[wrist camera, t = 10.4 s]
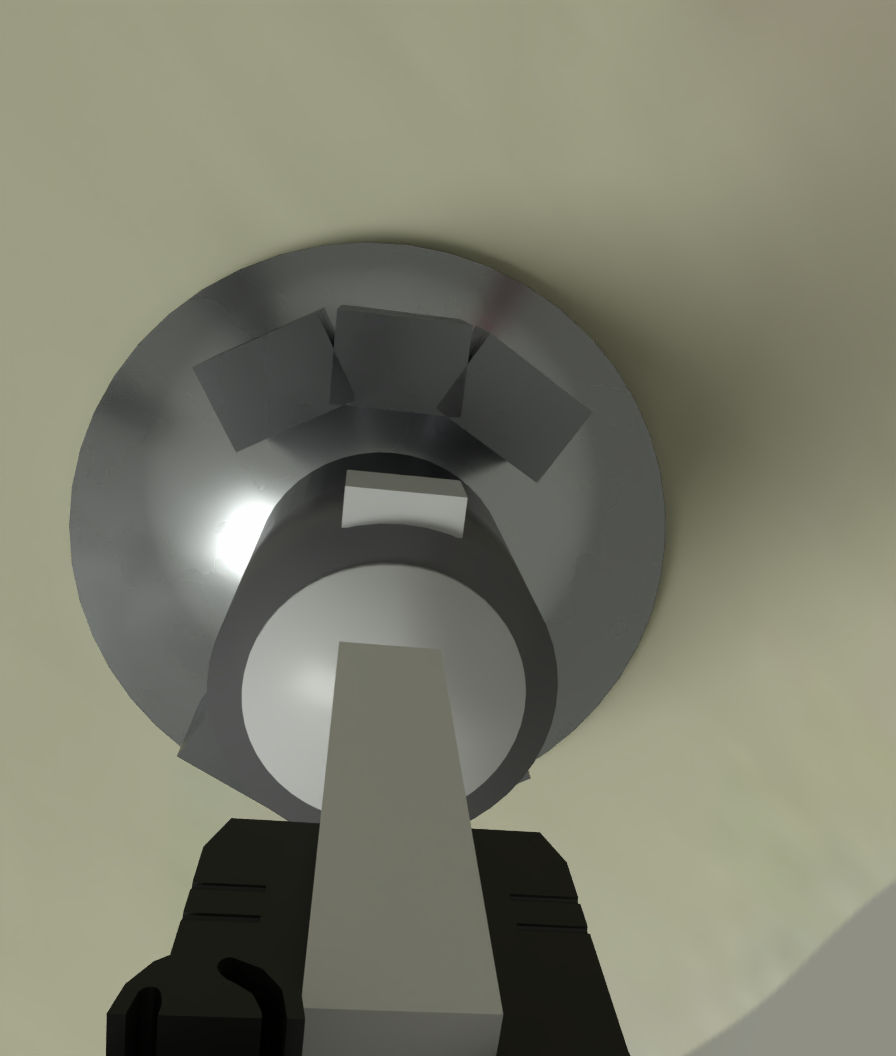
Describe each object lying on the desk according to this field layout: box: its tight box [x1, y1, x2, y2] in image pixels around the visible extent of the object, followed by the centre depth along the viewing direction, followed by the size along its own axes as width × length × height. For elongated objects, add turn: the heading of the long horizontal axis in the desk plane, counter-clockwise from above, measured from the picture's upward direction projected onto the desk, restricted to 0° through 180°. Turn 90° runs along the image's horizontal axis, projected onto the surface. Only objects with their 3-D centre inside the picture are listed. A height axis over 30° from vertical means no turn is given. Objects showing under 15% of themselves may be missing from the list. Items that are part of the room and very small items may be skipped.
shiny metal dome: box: [69, 242, 665, 808], centre depth 19 cm, size 14×14×3 cm
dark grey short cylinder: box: [207, 452, 558, 823], centre depth 17 cm, size 7×6×6 cm
